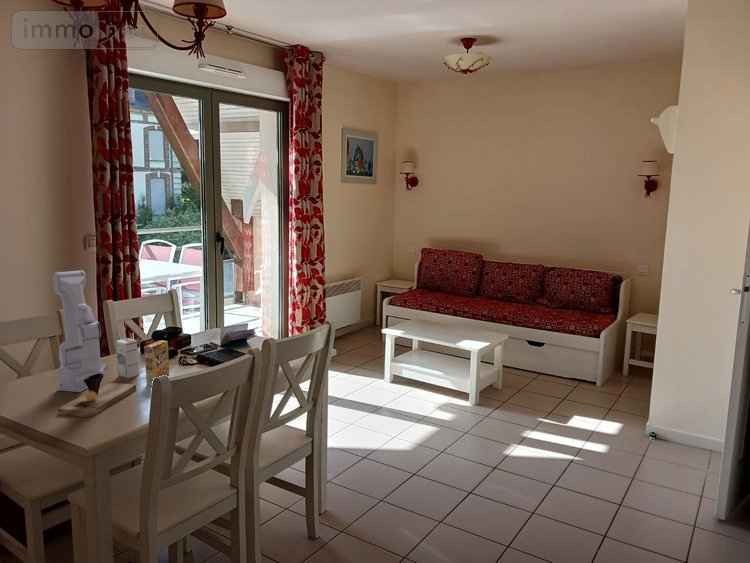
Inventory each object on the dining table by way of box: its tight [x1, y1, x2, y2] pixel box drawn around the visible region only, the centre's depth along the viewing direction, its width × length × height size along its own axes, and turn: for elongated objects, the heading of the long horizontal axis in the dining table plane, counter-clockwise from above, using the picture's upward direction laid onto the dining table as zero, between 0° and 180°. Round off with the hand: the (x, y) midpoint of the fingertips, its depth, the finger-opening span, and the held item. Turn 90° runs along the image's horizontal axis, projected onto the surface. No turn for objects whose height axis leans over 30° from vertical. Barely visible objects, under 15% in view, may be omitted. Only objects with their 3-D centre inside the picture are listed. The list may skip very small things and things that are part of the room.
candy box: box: [143, 339, 170, 386], centre depth 225 cm, size 9×4×15 cm, turn 162°
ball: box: [85, 390, 97, 401], centre depth 201 cm, size 4×4×4 cm
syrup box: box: [115, 337, 140, 379], centre depth 232 cm, size 6×6×14 cm
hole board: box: [57, 381, 137, 418], centre depth 206 cm, size 12×26×2 cm, turn 170°
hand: (94, 395), depth 202 cm, fingers closed, pressing on ball
